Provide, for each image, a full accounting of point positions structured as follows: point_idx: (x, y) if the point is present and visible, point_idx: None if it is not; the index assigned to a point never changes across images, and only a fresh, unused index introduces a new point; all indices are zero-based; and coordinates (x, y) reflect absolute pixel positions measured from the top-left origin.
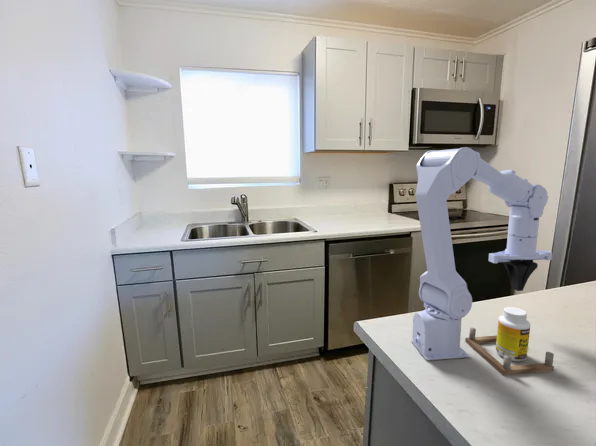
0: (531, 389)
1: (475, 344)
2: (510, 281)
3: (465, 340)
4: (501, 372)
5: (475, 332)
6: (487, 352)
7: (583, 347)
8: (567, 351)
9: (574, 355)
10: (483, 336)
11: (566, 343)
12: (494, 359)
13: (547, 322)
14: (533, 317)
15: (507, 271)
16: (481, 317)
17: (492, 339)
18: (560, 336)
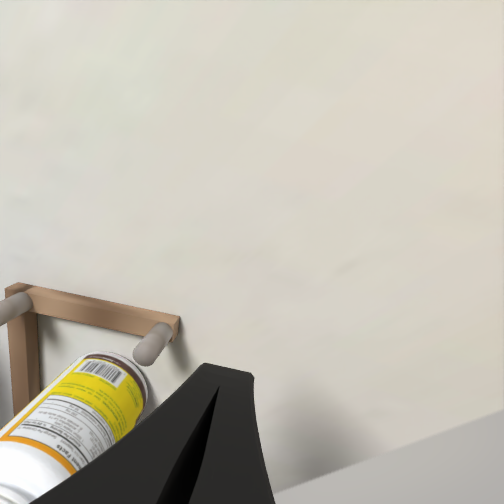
0: None
1: (15, 331)
2: (171, 396)
3: (12, 285)
4: None
5: (5, 322)
6: (25, 376)
7: (381, 437)
8: (302, 431)
9: (299, 450)
10: (73, 302)
11: (353, 405)
12: (24, 405)
13: (475, 276)
14: (469, 217)
15: (53, 491)
16: (211, 135)
17: (95, 324)
18: (388, 370)
